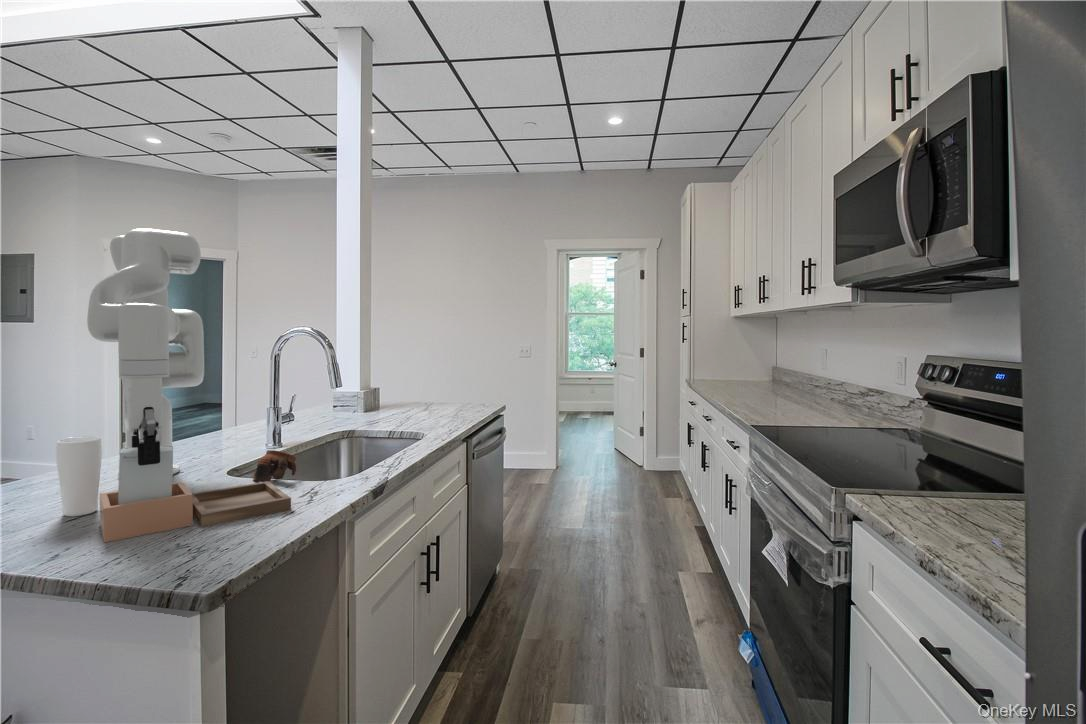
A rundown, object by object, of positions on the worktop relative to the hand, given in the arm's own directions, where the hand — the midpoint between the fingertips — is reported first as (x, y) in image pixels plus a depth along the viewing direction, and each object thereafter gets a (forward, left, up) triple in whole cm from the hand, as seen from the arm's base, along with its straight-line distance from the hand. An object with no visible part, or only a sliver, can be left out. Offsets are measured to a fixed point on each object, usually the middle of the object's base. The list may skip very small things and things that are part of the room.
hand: (145, 459), depth 98 cm
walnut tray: (-1, +16, -13) cm, 20 cm away
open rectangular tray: (-1, 0, -13) cm, 13 cm away
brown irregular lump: (-19, +28, -13) cm, 36 cm away
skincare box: (-1, 0, -13) cm, 13 cm away
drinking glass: (-17, -9, -13) cm, 23 cm away
